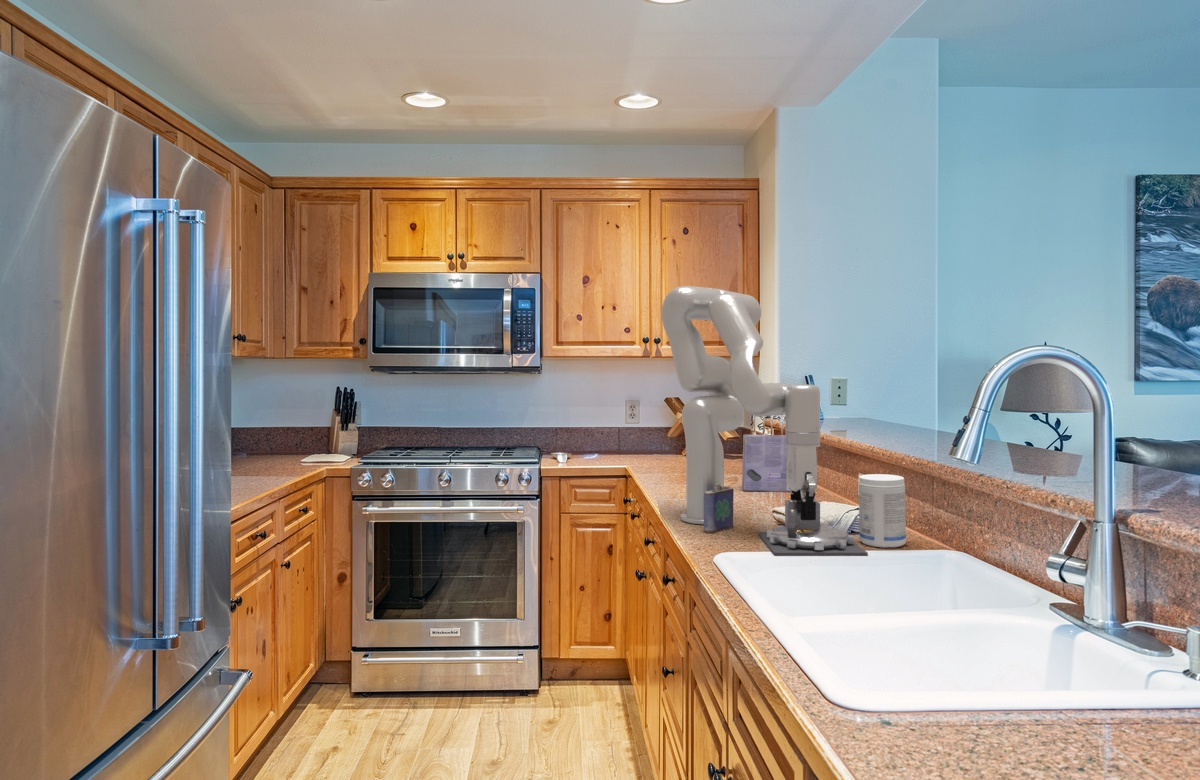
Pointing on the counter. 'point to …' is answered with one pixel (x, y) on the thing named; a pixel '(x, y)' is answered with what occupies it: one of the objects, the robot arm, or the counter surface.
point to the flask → (718, 509)
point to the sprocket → (809, 535)
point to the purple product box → (765, 463)
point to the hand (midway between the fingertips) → (802, 515)
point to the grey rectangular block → (800, 523)
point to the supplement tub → (882, 510)
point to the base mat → (811, 549)
